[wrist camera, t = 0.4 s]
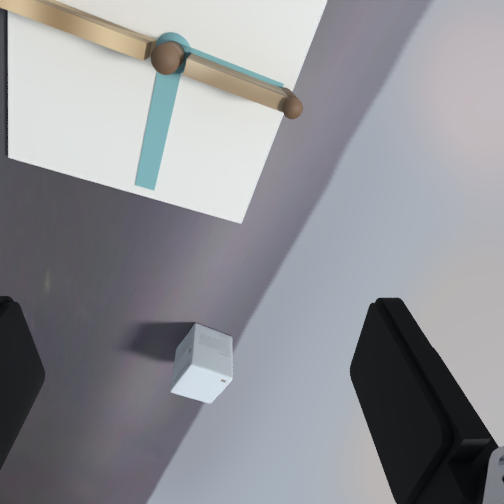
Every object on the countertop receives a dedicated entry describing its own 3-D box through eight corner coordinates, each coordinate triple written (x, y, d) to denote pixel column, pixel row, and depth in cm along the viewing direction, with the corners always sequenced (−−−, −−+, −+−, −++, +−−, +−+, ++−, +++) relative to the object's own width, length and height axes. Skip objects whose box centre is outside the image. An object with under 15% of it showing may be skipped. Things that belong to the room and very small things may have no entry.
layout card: (10, -190, 23) (6, -194, 23) (337, -28, 29) (338, -29, 28) (10, 156, 35) (7, 157, 35) (241, 222, 41) (241, 224, 40)
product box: (195, 320, 49) (191, 364, 43) (233, 335, 51) (234, 379, 45) (175, 348, 51) (168, 392, 45) (212, 361, 53) (211, 405, 47)
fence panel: (157, 37, 30) (146, 40, 26) (153, 57, 31) (141, 64, 26) (0, -25, 27) (-43, -33, 23) (0, -1, 28) (-41, -4, 24)
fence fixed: (164, 36, 30) (153, 39, 26) (295, 88, 33) (307, 99, 28) (159, 61, 31) (148, 69, 27) (287, 109, 34) (296, 124, 29)
